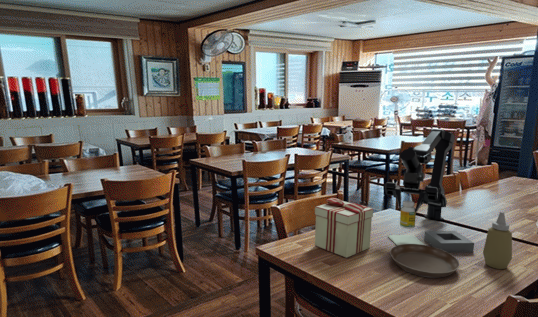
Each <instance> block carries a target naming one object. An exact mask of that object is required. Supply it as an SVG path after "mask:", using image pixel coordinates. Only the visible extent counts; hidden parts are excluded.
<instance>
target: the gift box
mask: <svg viewBox="0 0 538 317" xmlns="http://www.w3.org/2000/svg"><path fill="white" fill-rule="evenodd" d="M324 202H326V203H324V204H321V205H317V206H314V215H315V229H314V232H315V234H314V246H315V247H317V248H320V249H323V250H325V251H328V252H330V253H333V254H334V255H335V254H336V255H338V256H341V257H344V258H345V259H347V258H350V257H351V256H354V255H357V254H359V253H361V252H363V251H365V250H368V249H370V248H371V235H372V234H371V233H372V218H373V217H374V208H372V207H369V206H366V205H362V204H359V203H354V202H353V203H352V202H348V201H344V200H341V199H339V198H336V197H331V198H328V199H326V200H325V201H324Z"/></svg>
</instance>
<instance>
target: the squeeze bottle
mask: <svg viewBox="0 0 538 317" xmlns="http://www.w3.org/2000/svg"><path fill="white" fill-rule="evenodd" d="M505 215H506V214H505V212H502V211H500V212H499V214H498V216H497V220H495V221H492V222H491V223H492V224H491V227H490V228H489V227H488V229H487V234H486V238H485V242H484V245H483V251H482V254H483V258H484V262H485V265H487V266H488V267H490V268H493V269H498V270H505V269H507V268H508V266H509V264H510V263H511V261H512V259H513V233H512V232H511V230H510V224H509V223H507V221H506V216H505Z"/></svg>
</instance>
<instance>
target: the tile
mask: <svg viewBox="0 0 538 317" xmlns="http://www.w3.org/2000/svg"><path fill="white" fill-rule="evenodd" d="M387 237H388V238H389V239H390V240H391V241H392V242H393V244H394V245H395V246H398V245H402V244H421V245H425V244H424V243H423V242H422V241H421V240H419V239H418V238H417V237H416V236H415V235H413V234H389V235H388V234H387Z"/></svg>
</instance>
